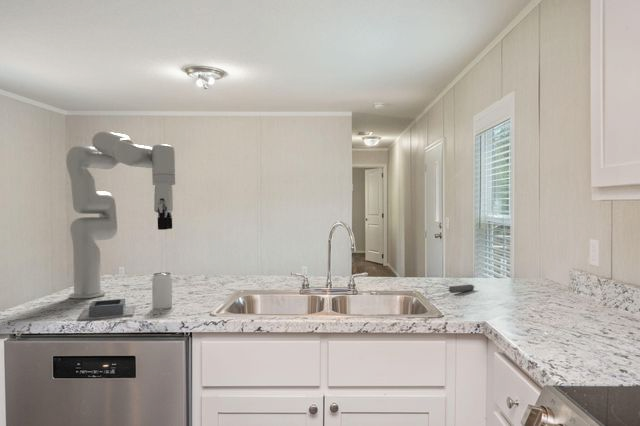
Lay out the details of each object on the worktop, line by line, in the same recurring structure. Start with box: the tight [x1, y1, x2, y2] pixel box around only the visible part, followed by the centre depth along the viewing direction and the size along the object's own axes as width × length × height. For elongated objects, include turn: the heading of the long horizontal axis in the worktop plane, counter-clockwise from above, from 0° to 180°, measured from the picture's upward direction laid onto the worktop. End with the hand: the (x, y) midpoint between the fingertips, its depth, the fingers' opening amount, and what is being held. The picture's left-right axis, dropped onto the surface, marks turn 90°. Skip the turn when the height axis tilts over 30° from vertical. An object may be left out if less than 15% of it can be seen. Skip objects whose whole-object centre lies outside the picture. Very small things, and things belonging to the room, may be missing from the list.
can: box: [151, 272, 173, 310], centre depth 149 cm, size 6×6×12 cm
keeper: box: [76, 298, 136, 322], centre depth 142 cm, size 14×16×4 cm
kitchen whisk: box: [422, 282, 476, 301], centre depth 169 cm, size 6×34×6 cm, turn 130°
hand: (165, 229), depth 149 cm, fingers open, 9 cm apart
